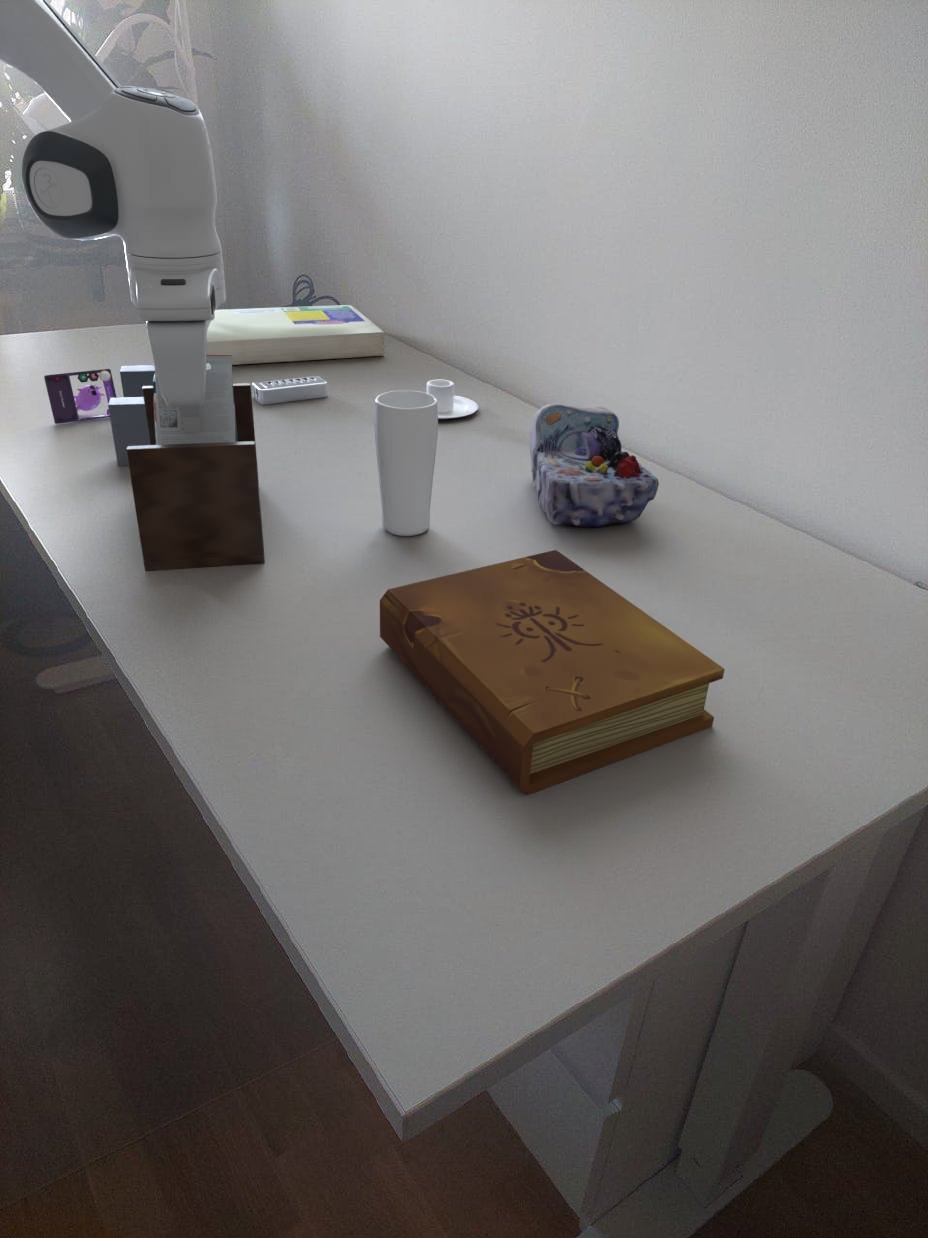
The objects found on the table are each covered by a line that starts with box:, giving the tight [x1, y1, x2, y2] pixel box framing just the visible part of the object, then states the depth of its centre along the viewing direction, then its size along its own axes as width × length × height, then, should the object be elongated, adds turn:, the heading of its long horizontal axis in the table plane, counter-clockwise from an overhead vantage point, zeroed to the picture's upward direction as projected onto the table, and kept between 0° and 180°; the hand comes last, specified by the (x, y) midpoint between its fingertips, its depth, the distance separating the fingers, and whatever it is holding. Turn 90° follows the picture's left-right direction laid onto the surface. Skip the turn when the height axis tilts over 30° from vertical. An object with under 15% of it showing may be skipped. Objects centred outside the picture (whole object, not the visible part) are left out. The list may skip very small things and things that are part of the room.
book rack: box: [126, 382, 265, 572], centre depth 102 cm, size 12×21×13 cm, turn 12°
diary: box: [379, 549, 726, 795], centre depth 78 cm, size 23×19×6 cm
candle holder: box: [426, 378, 479, 420], centre depth 143 cm, size 12×12×4 cm
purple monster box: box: [43, 368, 118, 425], centre depth 135 cm, size 7×5×9 cm
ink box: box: [154, 355, 236, 445], centre depth 96 cm, size 4×8×15 cm, turn 108°
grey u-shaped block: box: [107, 364, 155, 467], centre depth 126 cm, size 7×18×8 cm, turn 12°
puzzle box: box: [207, 304, 386, 366], centre depth 173 cm, size 36×5×24 cm
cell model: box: [529, 403, 660, 528], centre depth 111 cm, size 13×11×20 cm
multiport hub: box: [251, 375, 329, 406], centre depth 147 cm, size 4×11×2 cm, turn 118°
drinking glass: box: [374, 389, 439, 537], centre depth 103 cm, size 7×7×15 cm
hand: (193, 422), depth 96 cm, fingers closed on ink box, 4 cm apart
